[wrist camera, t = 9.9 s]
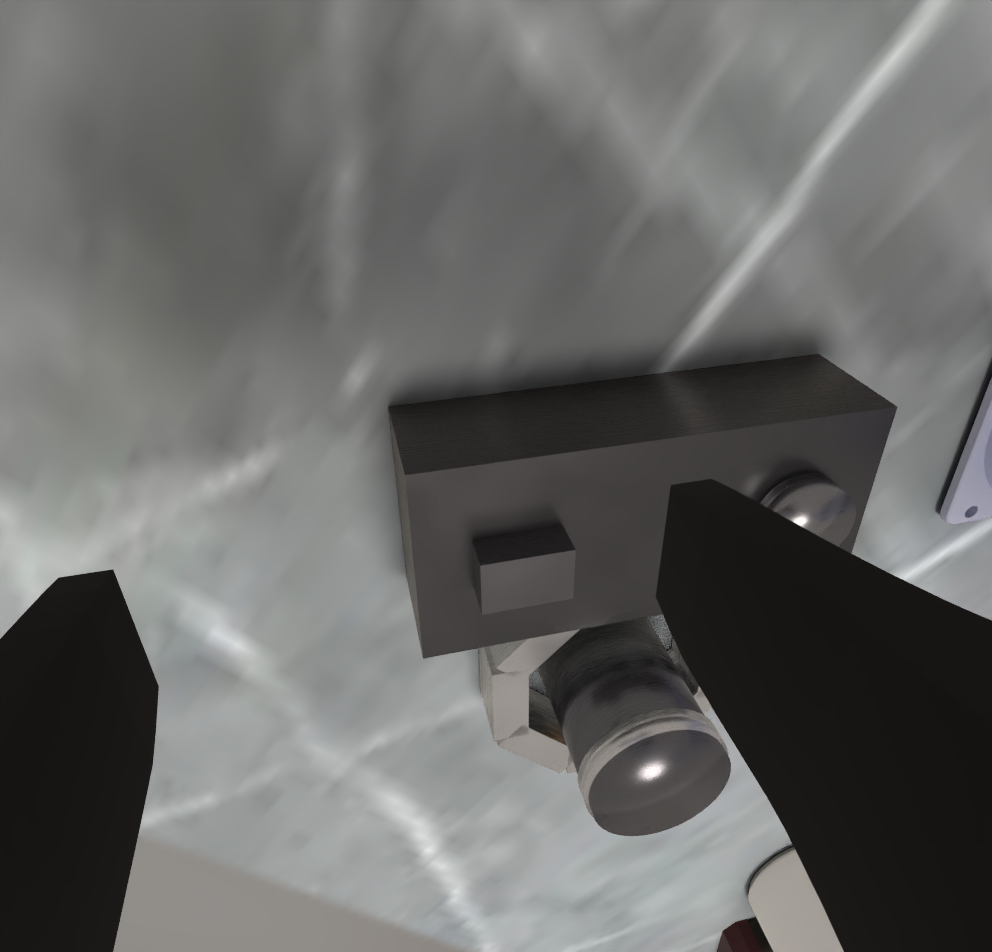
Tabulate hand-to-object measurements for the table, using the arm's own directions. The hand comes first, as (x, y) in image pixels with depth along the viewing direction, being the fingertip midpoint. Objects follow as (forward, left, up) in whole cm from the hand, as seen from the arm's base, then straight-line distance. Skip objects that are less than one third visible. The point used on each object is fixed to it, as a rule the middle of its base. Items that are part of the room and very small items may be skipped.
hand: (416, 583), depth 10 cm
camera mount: (-7, +10, -10) cm, 16 cm away
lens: (-7, +14, -10) cm, 18 cm away
